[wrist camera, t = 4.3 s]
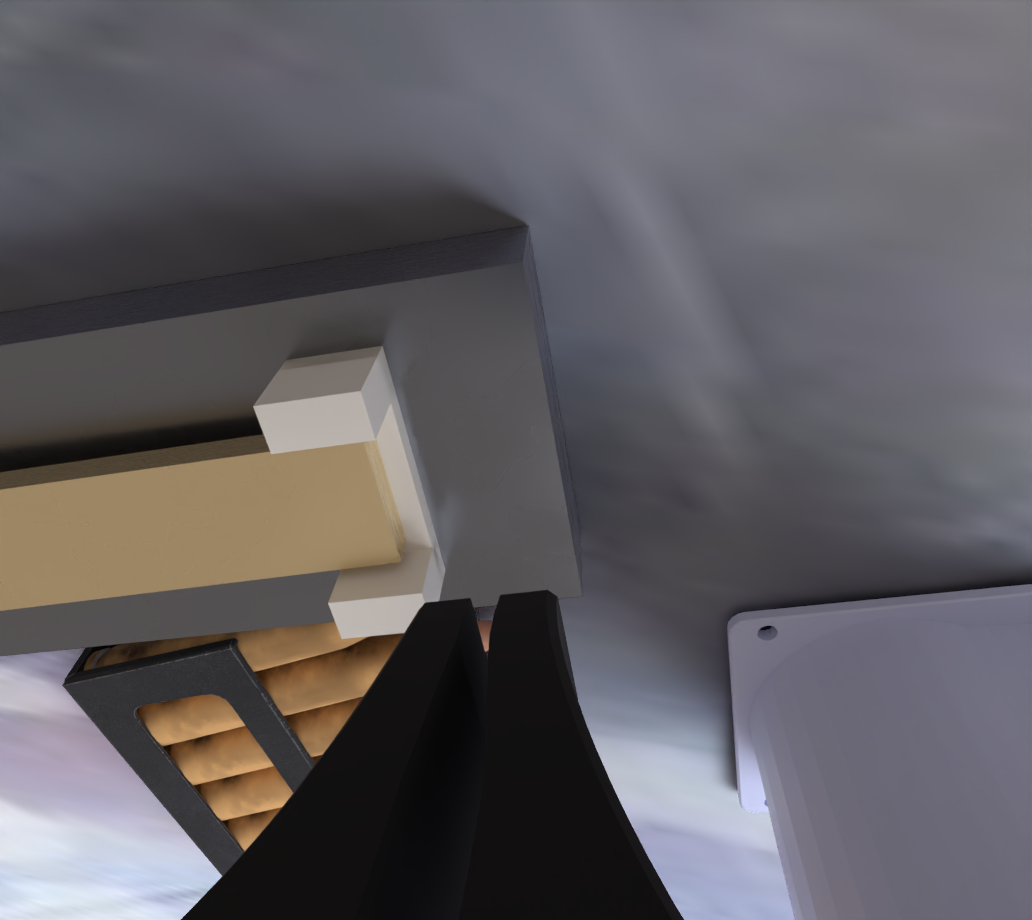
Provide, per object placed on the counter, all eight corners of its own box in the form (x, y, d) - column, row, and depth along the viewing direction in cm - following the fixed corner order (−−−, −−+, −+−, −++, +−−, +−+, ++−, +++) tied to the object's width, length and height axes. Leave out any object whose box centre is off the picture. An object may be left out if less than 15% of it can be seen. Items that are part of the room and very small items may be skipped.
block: (528, 225, 17) (517, 295, 14) (580, 532, 21) (584, 651, 18) (-250, 354, 20) (-436, 443, 16) (-72, 606, 24) (-189, 724, 20)
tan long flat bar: (372, 414, 17) (360, 443, 16) (408, 533, 18) (399, 567, 17) (-258, 505, 18) (-307, 537, 17) (-178, 607, 20) (-218, 642, 19)
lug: (382, 345, 16) (360, 390, 14) (445, 569, 19) (433, 630, 17) (285, 360, 16) (253, 406, 15) (361, 579, 19) (341, 639, 17)
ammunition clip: (263, 855, 29) (593, 786, 27) (248, 907, 27) (598, 836, 25) (91, 635, 24) (481, 528, 22) (60, 682, 22) (477, 572, 20)
